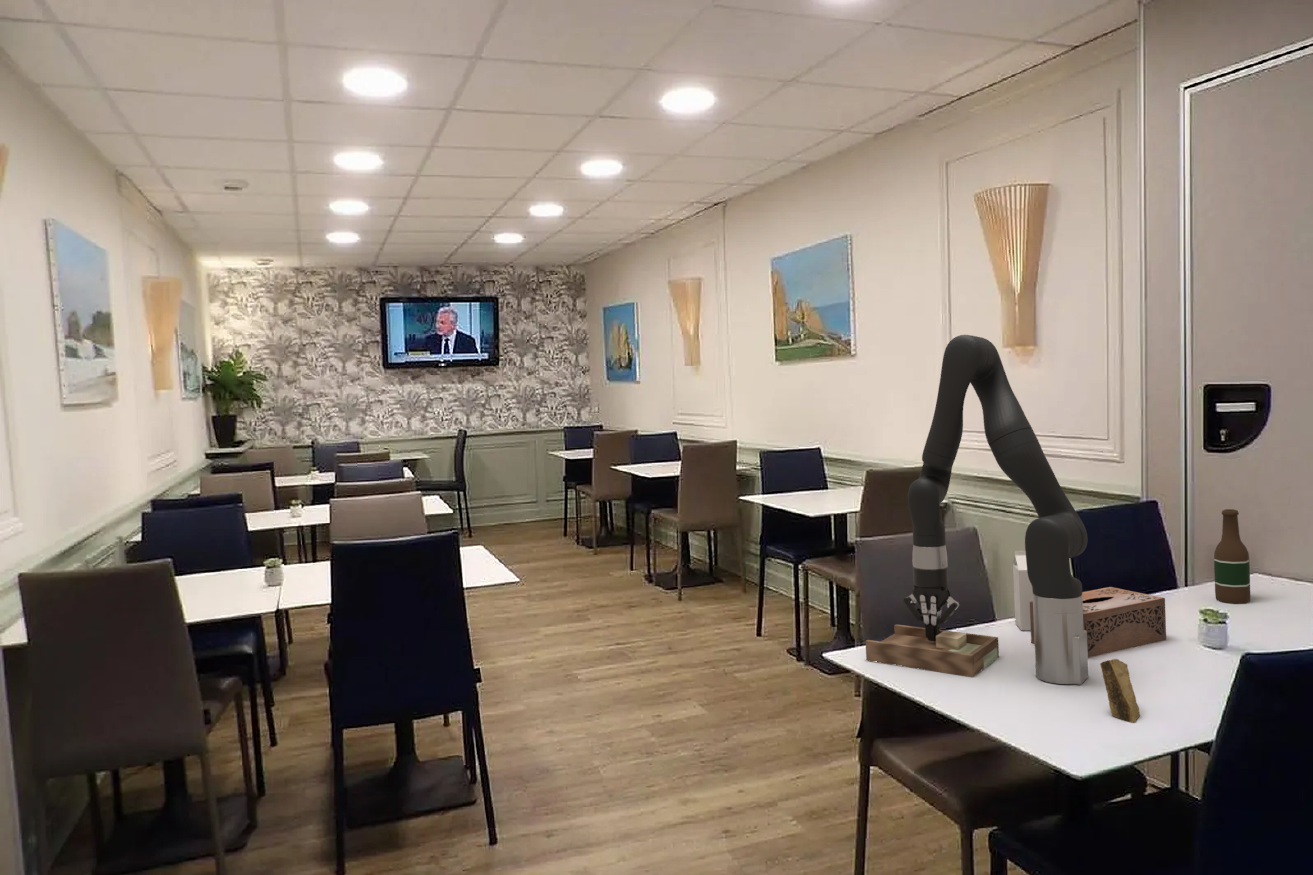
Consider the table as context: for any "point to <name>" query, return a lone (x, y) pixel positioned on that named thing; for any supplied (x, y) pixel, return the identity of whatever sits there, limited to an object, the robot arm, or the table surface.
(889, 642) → the box
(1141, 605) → the tissue box cover
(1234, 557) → the beer bottle
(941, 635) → the maple block
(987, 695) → the table surface
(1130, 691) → the rock
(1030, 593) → the milk carton
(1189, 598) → the table surface
